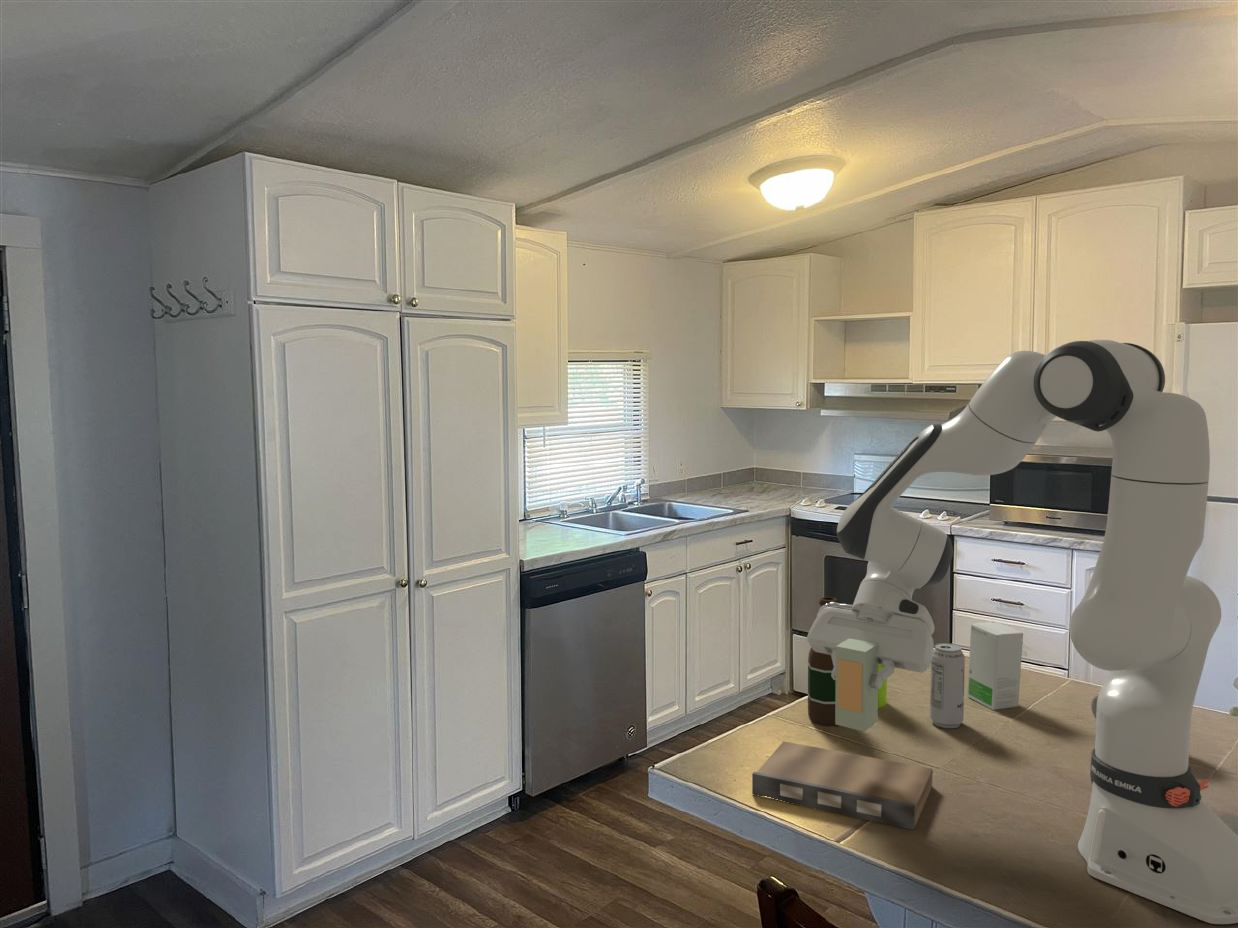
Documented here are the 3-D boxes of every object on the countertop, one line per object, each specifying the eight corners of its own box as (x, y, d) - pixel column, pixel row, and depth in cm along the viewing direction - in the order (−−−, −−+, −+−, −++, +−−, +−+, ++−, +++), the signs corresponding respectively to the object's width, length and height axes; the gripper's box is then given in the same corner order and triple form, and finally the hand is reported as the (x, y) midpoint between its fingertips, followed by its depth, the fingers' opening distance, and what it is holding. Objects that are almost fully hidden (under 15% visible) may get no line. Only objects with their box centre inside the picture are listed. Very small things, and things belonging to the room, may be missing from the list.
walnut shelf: (932, 786, 148) (932, 765, 147) (913, 830, 134) (913, 807, 133) (783, 757, 160) (783, 737, 159) (751, 795, 145) (751, 774, 145)
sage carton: (877, 721, 148) (878, 643, 146) (864, 731, 144) (865, 652, 142) (848, 714, 151) (849, 638, 149) (834, 724, 147) (835, 646, 145)
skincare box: (966, 696, 188) (968, 623, 186) (993, 693, 190) (994, 620, 188) (994, 711, 180) (996, 634, 178) (1021, 707, 182) (1024, 630, 180)
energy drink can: (966, 730, 170) (968, 652, 169) (932, 728, 171) (934, 651, 170) (959, 718, 176) (961, 642, 175) (927, 716, 177) (928, 641, 176)
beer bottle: (856, 723, 174) (858, 600, 172) (822, 729, 172) (823, 605, 169) (832, 709, 182) (833, 591, 179) (799, 715, 179) (800, 595, 176)
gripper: (817, 590, 157) (790, 660, 151) (935, 608, 144) (911, 686, 138) (828, 610, 161) (802, 679, 154) (944, 629, 148) (921, 705, 142)
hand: (855, 682), depth 146 cm, fingers closed on sage carton, 5 cm apart
